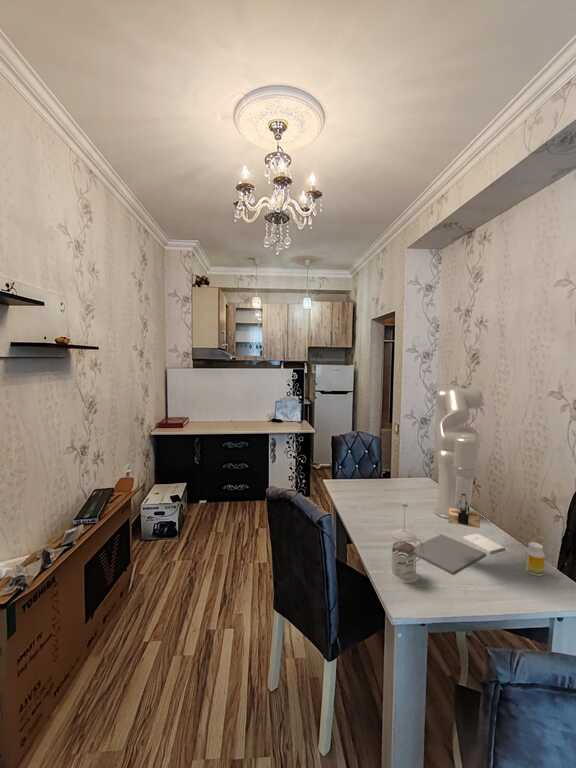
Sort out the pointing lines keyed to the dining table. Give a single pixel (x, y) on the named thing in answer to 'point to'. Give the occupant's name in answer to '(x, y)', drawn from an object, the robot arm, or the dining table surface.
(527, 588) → the dining table surface
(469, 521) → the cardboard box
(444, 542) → the rubber mat
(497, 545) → the external hard drive
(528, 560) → the supplement bottle
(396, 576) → the french press
